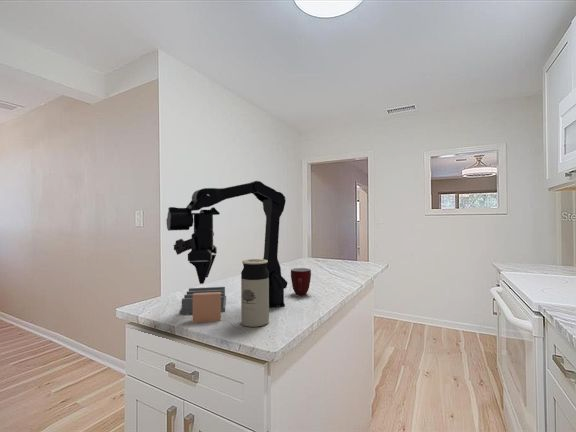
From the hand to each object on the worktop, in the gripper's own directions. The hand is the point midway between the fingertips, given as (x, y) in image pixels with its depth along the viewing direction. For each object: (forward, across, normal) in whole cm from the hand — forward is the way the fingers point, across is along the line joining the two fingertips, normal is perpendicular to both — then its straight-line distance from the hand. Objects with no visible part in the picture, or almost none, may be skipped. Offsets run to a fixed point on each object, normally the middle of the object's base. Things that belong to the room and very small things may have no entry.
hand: (203, 280), depth 89 cm
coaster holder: (+11, -12, -1) cm, 17 cm away
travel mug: (+12, +7, +15) cm, 20 cm away
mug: (+12, -21, +34) cm, 42 cm away
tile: (+12, +2, +1) cm, 12 cm away
